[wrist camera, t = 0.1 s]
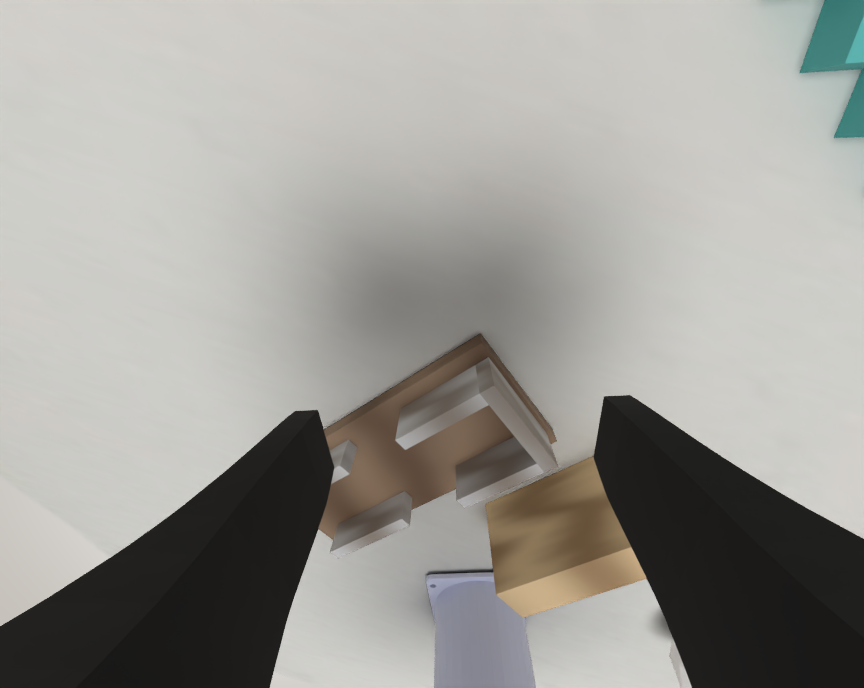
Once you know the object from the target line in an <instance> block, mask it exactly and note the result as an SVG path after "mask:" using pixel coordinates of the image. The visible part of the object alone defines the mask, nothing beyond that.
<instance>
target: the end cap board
mask: <svg viewBox="0 0 864 688" xmlns="http://www.w3.org/2000/svg"><path fill="white" fill-rule="evenodd" d="M324 433H325V436H326V440H327V443H328V447H329V450H330V454H331V457H332V461H333V464H334V472H333V477H332V482H331V487H330V491H329V496H328V500H327V504H326V507H325V510H324V513H323V516H322V519H321V522H320V525H319V528H318V529H319V530H321V531H322V532H323V533H325V534H326V535H327V536H329V537H330V538H331V539H333V543H332V546H331V550H330V553H331V554H333V555H334V556H336V557H337V558H340V557H343V556H345V555H347V554H349V553H351V552H354V551H356V550H358V549H360V548H362V547H364V546H367V545H369V544H371V543H373V542H375V541H378V540H380V539H382V538H384V537H386V536H389V535H391V534H393V533H395V532H397V531H399V530H402V529H404V528H406V527H408V526H410V518H411V510H412V509H414V508H416V507H419V506H421V505H423V504H425V503H427V502H429V501H431V500H433V499H435V498H438V497H440V496H442V495H444V494H446V493H448V492H450V491H452V490H454V489H456V496H457V501H458V502H459V503H460V504H461V505H462V506H463V507H464V508H467V507H469V506H471V505H473V504H476V503H478V502H480V501H482V500H485V499H487V498H489V497H491V496H493V495H496V494H498V493H500V492H502V491H505V490H507V489H509V488H511V487H514V486H516V485H518V484H520V483H522V482H525V481H527V480H529V479H531V478H534V477H536V476H538V475H540V474H542V473H545V472H547V471H549V470H551V469H554V468H556V467H558V464H557V461H556V458H555V456H554V453H553V450H552V447H551V444H552V443H554V442H556V441H557V440H556V437H555V435H554V432H553V429H552V428H551V427H550V425H549V424H548V423H547V421H546V420H545V419H544V417H543V416H542V415H541V413H540V412H539V411H538V409H537V408H536V407H535V405H534V404H533V403H532V401H531V400H530V399H529V397H528V396H527V395H526V393H525V392H524V391H523V389H522V388H521V387H520V385H519V384H518V383H517V381H516V380H515V379H514V377H513V376H512V375H511V373H510V372H509V371H508V369H507V368H506V367H505V365H504V364H503V363H502V361H501V360H500V359H499V358H498V356H497V355H496V354H495V352H494V351H493V350H492V348H491V347H490V346H489V344H488V343H487V342H486V340H485V339H484V338H483V336H482V335H481V334H479V335H477V336H476V337H474V338H473V339H471V340H469V341H468V342H466V343H464V344H463V345H461V346H460V347H458V348H456V349H455V350H453V351H451V352H450V353H448V354H447V355H445V356H443V357H442V358H440V359H438V360H437V361H435V362H434V363H432V364H430V365H429V366H427V367H425V368H424V369H422V370H421V371H419V372H417V373H416V374H414V375H412V376H411V377H409V378H408V379H406V380H404V381H403V382H401V383H399V384H398V385H396V386H395V387H393V388H391V389H390V390H388V391H386V392H385V393H383V394H382V395H380V396H378V397H377V398H375V399H373V400H372V401H370V402H369V403H367V404H365V405H364V406H362V407H360V408H359V409H357V410H356V411H354V412H352V413H351V414H349V415H347V416H346V417H344V418H343V419H341V420H339V421H338V422H336V423H335V424H333V425H331V426H330V427H328V428H326V429H325V430H324Z"/></svg>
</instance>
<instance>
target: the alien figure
mask: <svg viewBox="0 0 864 688" xmlns="http://www.w3.org/2000/svg"><path fill="white" fill-rule="evenodd" d="M854 69H862V71H861V73H860V76H859V78H858V81H857V83H856V86H855V88H854V90H853V93H852V95H851V98H850V100H849V102H848V105H847V107H846V110H845V112H844V115H843V117H842V119H841V122H840V124H839V127H838V129H837V132H836V134H835V136H834V138H840V137H864V0H825V1H824V4H823V7H822V10H821V13H820V16H819V19H818V21H817V24H816V27H815V30H814V33H813V36H812V39H811V42H810V44H809V47H808V50H807V53H806V56H805V59H804V62H803V64H802V67H801V70H800V73H807V72H823V71H839V70H854Z"/></svg>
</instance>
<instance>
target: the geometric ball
mask: <svg viewBox="0 0 864 688" xmlns="http://www.w3.org/2000/svg"><path fill="white" fill-rule="evenodd" d="M669 656H670V659H671V661H672V664H673V667H674V670H675V672H676V675H677V678H678V681H679V684H680V686H681V688H692V686H691V684H690V681H689V678H688V676H687V673H686V670H685V668H684V665H683V663H682V660H681V657H680V655H679V652H678V650H677V647H676V645H675V642H674V639H672V645H671V650H670V655H669Z"/></svg>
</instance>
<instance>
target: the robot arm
mask: <svg viewBox="0 0 864 688" xmlns="http://www.w3.org/2000/svg"><path fill="white" fill-rule="evenodd" d="M594 461H595V464H596V467H597V470H598V473H599V476H600V479H601V482H602V484H603V487H604V490H605V493H606V496H607V498H608V500H609V502H610V504H611V506H612V509H613V511H614V513H615V515H616V517H617V519H618V521H619V523H620V525H621V527H622V529H623V531H624V533H625V535H626V537H627V539H628V541H629V543H630V545H631V548H632V550H633V552H634V554H635V556H636V558H637V560H638V562H639V564H640V566H641V568H642V570H643V572H644V574H645V576H646V578H647V580H648V582H649V584H650V586H651V588H652V590H653V592H654V594H655V597H656V599H657V601H658V603H659V605H660V608H661V610H662V612H663V614H664V617H665V619H666V621H667V624H668V627H669V629H670V632H671V634H672V637H673V639H674V642H675V645H676V647H677V650H678V652H679V655H680V657H681V660H682V663H683V665H684V668H685V670H686V673H687V676H688V678H689V681H690V684H691V686H692V688H864V539H863V538H861V537H859V536H857V535H855V534H853V533H852V532H850V531H848V530H846V529H844V528H842V527H840V526H839V525H837V524H835V523H833V522H831V521H829V520H828V519H826V518H824V517H822V516H820V515H818V514H816V513H815V512H813V511H811V510H809V509H807V508H805V507H804V506H802V505H800V504H798V503H797V502H795V501H793V500H792V499H790V498H788V497H786V496H785V495H783V494H781V493H779V492H778V491H776V490H775V489H773V488H771V487H770V486H768V485H766V484H765V483H763V482H761V481H760V480H758V479H756V478H755V477H753V476H751V475H750V474H748V473H747V472H745V471H743V470H742V469H740V468H739V467H737V466H735V465H734V464H732V463H731V462H729V461H728V460H726V459H724V458H723V457H721V456H720V455H718V454H717V453H715V452H714V451H712V450H711V449H709V448H708V447H706V446H705V445H703V444H702V443H700V442H699V441H697V440H696V439H694V438H693V437H691V436H690V435H688V434H687V433H685V432H684V431H682V430H681V429H679V428H678V427H677V426H675V425H674V424H672V423H671V422H669V421H668V420H666V419H665V418H663V417H662V416H661V415H659V414H658V413H656V412H655V411H653V410H652V409H650V408H649V407H647V406H646V405H644V404H643V403H641V402H640V401H638V400H637V399H635V398H633V397H632V396H630V395H626V396H605V397H604V400H603V406H602V412H601V418H600V424H599V429H598V435H597V441H596V447H595V453H594ZM333 472H334V464H333V461H332V457H331V454H330V450H329V447H328V443H327V440H326V436H325V433H324V430H323V426H322V423H321V419H320V416H319V412H318V410H310V411H295V412H293V413H292V414H291V415H290V416H288V417H287V418H286V419H285V420H284V421H283V422H281V423H280V424H279V425H278V426H277V427H276V428H274V429H273V430H272V431H271V432H270V433H269V434H268V435H267V436H265V437H264V438H263V439H262V440H261V441H260V442H259V443H258V444H256V445H255V446H254V447H253V448H252V449H251V450H250V451H248V452H247V453H246V454H245V455H244V456H243V457H241V458H240V459H239V460H238V461H237V462H236V463H235V464H233V465H232V466H231V467H230V468H229V469H228V470H226V471H225V472H224V473H223V474H222V475H220V476H219V477H218V478H217V479H215V480H214V481H213V482H212V483H211V484H209V485H208V486H207V487H206V488H204V489H203V490H202V491H201V492H199V493H198V494H197V495H196V496H194V497H193V498H192V499H191V500H190V501H188V502H187V503H186V504H185V505H183V506H182V507H181V508H179V509H178V510H177V511H176V512H174V513H173V514H172V515H170V516H169V517H168V518H166V519H165V520H163V521H162V522H161V523H159V524H158V525H157V526H155V527H154V528H153V529H151V530H150V531H148V532H147V533H145V534H144V535H143V536H141V537H140V538H138V539H137V540H136V541H134V542H133V543H131V544H130V545H129V546H127V547H126V548H124V549H123V550H121V551H120V552H118V553H117V554H115V555H114V556H112V557H111V558H109V559H108V560H106V561H105V562H103V563H101V564H100V565H98V566H97V567H95V568H94V569H92V570H91V571H89V572H88V573H86V574H84V575H83V576H81V577H80V578H78V579H77V580H75V581H74V582H72V583H70V584H69V585H67V586H66V587H64V588H63V589H61V590H60V591H58V592H56V593H55V594H53V595H52V596H50V597H49V598H47V599H45V600H44V601H42V602H40V603H39V604H37V605H35V606H34V607H32V608H30V609H29V610H27V611H25V612H24V613H22V614H20V615H19V616H17V617H15V618H14V619H12V620H10V621H9V622H7V623H5V624H3V625H2V626H0V688H270V683H271V679H272V675H273V671H274V667H275V664H276V660H277V656H278V652H279V648H280V644H281V640H282V636H283V633H284V629H285V625H286V621H287V618H288V615H289V612H290V608H291V605H292V602H293V599H294V596H295V593H296V590H297V587H298V585H299V582H300V579H301V576H302V573H303V570H304V568H305V565H306V562H307V559H308V556H309V554H310V551H311V548H312V545H313V542H314V539H315V537H316V534H317V531H318V528H319V525H320V522H321V519H322V516H323V513H324V510H325V507H326V504H327V500H328V496H329V491H330V487H331V482H332V477H333ZM426 584H427V589H428V593H429V598H430V603H431V607H432V612H433V617H434V622H435V666H434V688H536V685H535V679H534V673H533V667H532V661H531V655H530V649H529V643H528V637H527V632H526V617H524V618H522V617H521V616H520V615H519V614H518V613H517V612H515V611H514V610H513V609H512V608H511V607H510V606H509V605H507V604H506V603H505V602H504V601H503V600H502V599H501V598H499V597H498V596H497V595H496V591H495V582H494V573H493V572H485V573H456V574H431V575H428V576H427V577H426Z"/></svg>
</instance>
